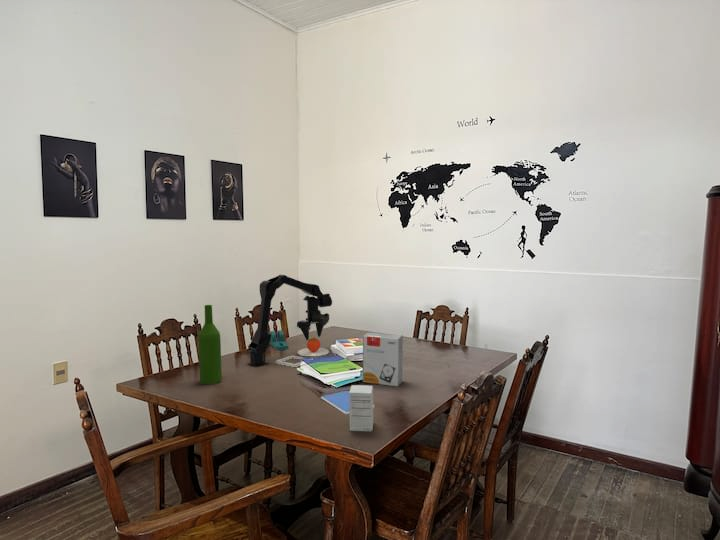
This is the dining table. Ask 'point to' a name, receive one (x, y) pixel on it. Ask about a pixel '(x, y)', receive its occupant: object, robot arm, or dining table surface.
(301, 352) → the cream plate
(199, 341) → the wine bottle
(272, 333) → the bracket
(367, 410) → the supplement box
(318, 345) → the clementine
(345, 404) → the tablet computer
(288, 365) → the white flat square frame
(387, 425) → the dining table surface
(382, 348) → the hard drive box
